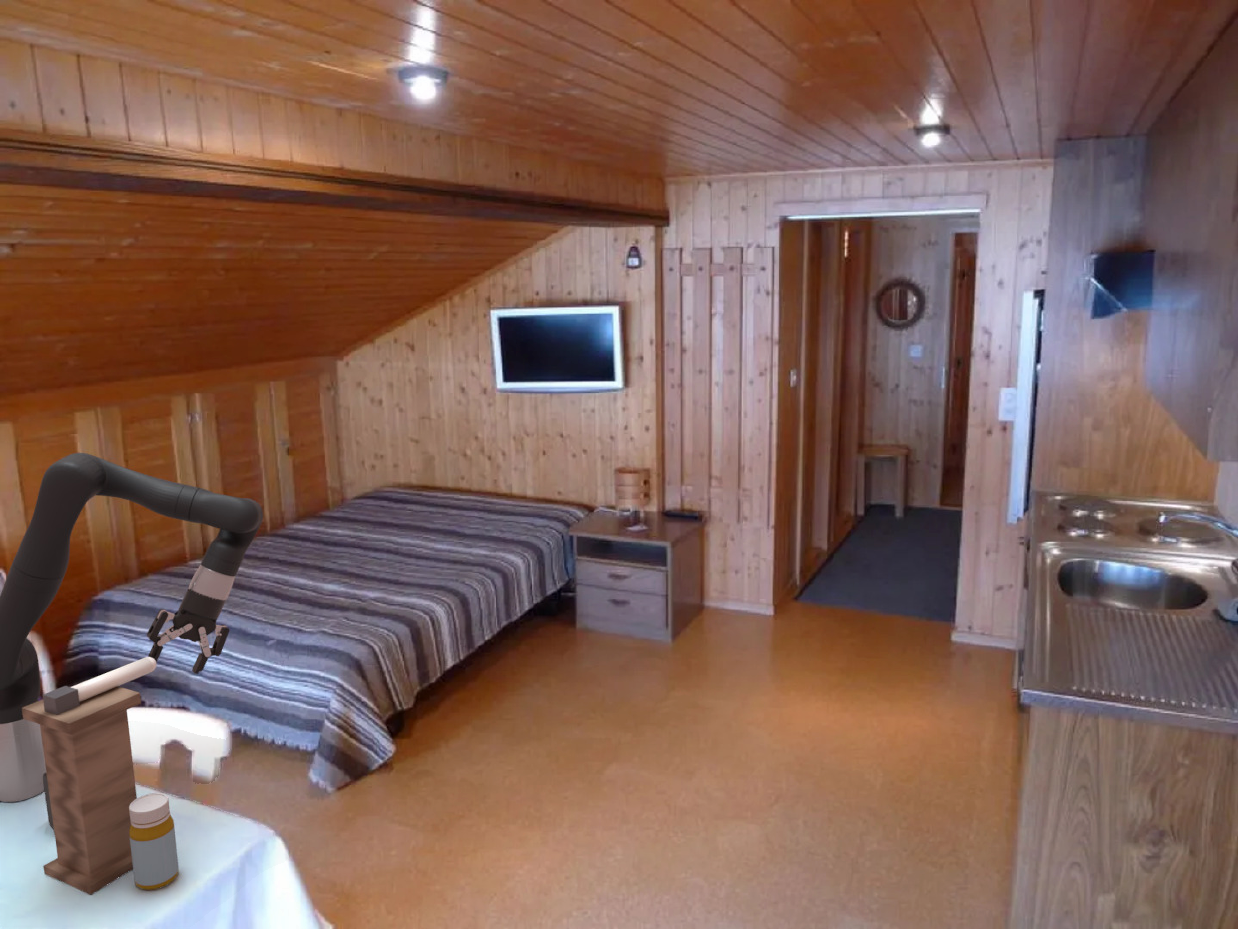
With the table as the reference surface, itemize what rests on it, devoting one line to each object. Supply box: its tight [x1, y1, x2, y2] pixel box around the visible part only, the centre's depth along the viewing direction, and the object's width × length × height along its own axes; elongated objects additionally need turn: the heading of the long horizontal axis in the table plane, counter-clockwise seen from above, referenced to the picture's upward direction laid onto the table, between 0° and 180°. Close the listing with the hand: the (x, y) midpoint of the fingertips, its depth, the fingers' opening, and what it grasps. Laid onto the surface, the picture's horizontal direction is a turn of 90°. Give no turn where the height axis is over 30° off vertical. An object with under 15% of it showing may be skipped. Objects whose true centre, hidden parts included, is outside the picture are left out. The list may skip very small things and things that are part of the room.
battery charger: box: [43, 773, 54, 830], centre depth 177 cm, size 7×4×11 cm, turn 48°
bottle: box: [129, 792, 180, 891], centre depth 161 cm, size 7×7×15 cm
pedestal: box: [22, 686, 142, 896], centre depth 164 cm, size 13×13×32 cm
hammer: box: [42, 656, 158, 715], centre depth 164 cm, size 20×3×3 cm, turn 153°
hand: (173, 667), depth 182 cm, fingers open, 8 cm apart
